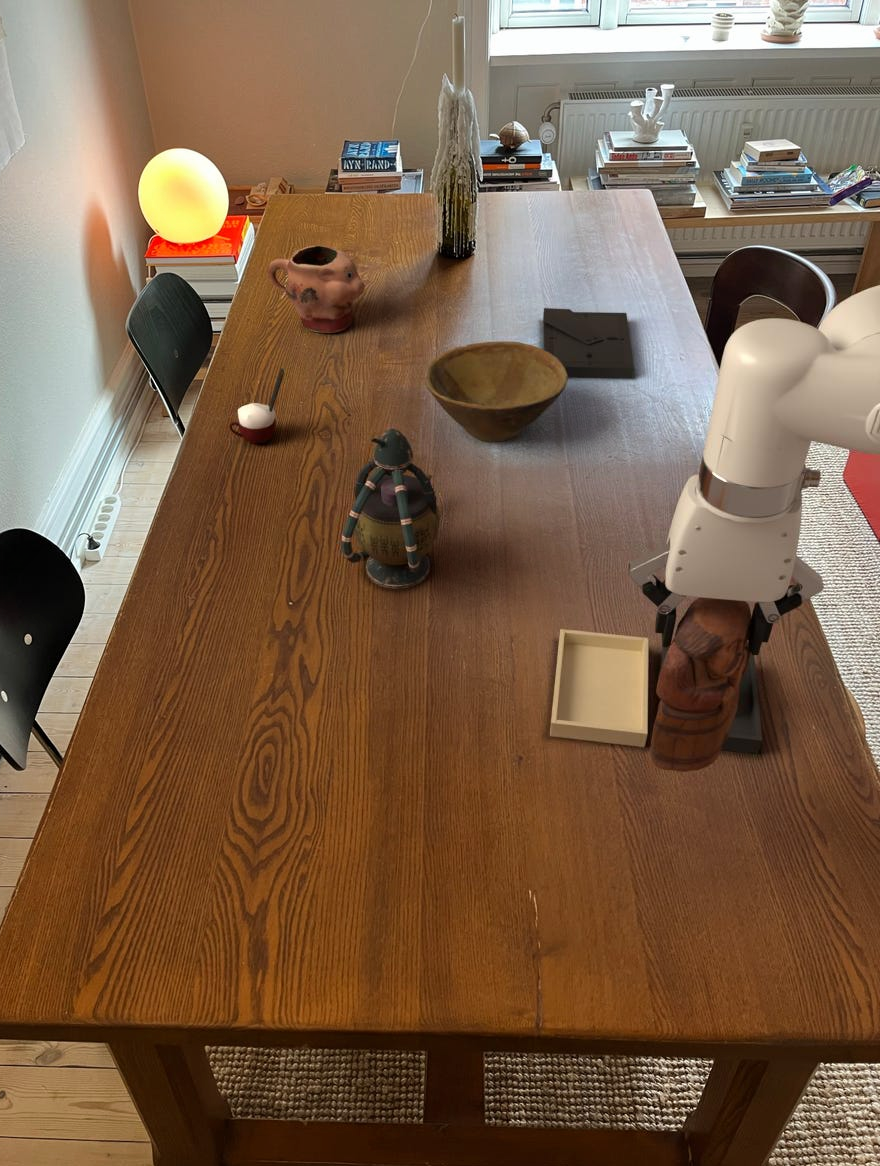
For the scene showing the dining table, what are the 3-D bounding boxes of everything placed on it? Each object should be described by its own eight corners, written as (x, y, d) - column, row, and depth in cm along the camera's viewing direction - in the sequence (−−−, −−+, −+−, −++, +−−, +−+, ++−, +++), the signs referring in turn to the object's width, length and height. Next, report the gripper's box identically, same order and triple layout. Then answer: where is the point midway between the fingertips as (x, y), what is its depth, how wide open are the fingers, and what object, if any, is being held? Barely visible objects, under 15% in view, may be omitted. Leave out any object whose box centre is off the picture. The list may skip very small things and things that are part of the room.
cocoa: (229, 446, 167) (217, 382, 159) (241, 425, 171) (230, 362, 163) (284, 451, 165) (275, 386, 157) (294, 430, 170) (286, 366, 161)
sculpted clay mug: (260, 332, 195) (250, 262, 185) (283, 303, 203) (275, 235, 194) (358, 343, 191) (353, 272, 181) (377, 314, 199) (373, 244, 189)
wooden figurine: (700, 791, 96) (733, 659, 83) (637, 763, 99) (660, 632, 86) (744, 711, 102) (781, 578, 90) (685, 687, 105) (713, 556, 93)
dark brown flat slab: (542, 321, 194) (543, 376, 180) (543, 307, 192) (544, 362, 178) (625, 322, 193) (632, 378, 178) (626, 309, 191) (634, 364, 176)
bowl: (456, 381, 180) (456, 329, 173) (579, 407, 172) (584, 354, 165) (404, 444, 166) (403, 391, 159) (535, 475, 158) (540, 421, 151)
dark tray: (749, 667, 127) (754, 654, 126) (757, 754, 117) (762, 740, 116) (659, 658, 129) (662, 644, 127) (660, 742, 119) (663, 729, 117)
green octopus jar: (339, 602, 139) (325, 461, 122) (387, 496, 156) (381, 360, 139) (423, 615, 136) (420, 474, 120) (463, 506, 153) (466, 370, 137)
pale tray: (645, 651, 130) (648, 637, 128) (644, 747, 119) (647, 733, 117) (558, 642, 132) (560, 628, 130) (549, 736, 120) (551, 722, 119)
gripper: (857, 459, 80) (803, 620, 93) (635, 446, 83) (612, 605, 95) (872, 516, 75) (813, 679, 87) (635, 500, 77) (610, 661, 90)
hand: (708, 639), depth 91 cm, fingers closed on wooden figurine, 7 cm apart
